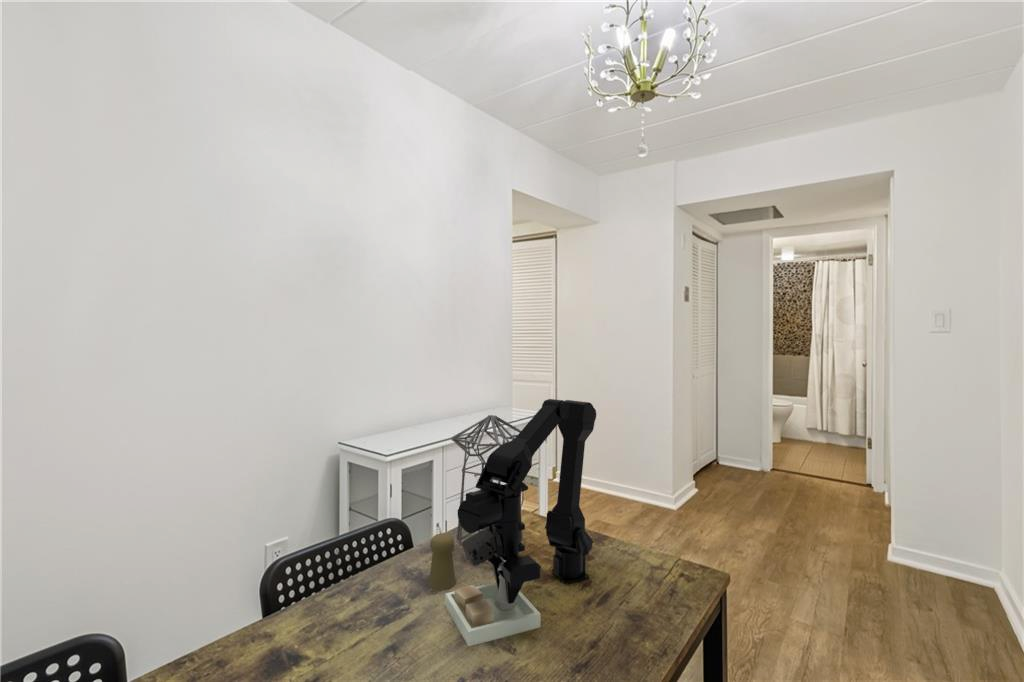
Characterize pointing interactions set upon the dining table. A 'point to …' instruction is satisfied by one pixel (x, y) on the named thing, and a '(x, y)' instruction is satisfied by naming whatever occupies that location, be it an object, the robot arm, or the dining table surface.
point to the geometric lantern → (456, 439)
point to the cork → (442, 562)
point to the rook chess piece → (503, 595)
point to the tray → (495, 617)
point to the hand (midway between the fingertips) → (505, 596)
